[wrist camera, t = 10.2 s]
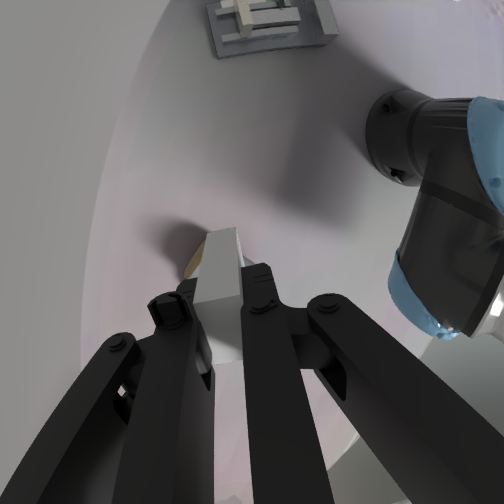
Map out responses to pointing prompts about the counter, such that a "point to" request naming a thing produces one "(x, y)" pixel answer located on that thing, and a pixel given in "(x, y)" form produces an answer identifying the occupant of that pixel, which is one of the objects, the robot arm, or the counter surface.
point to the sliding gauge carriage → (263, 16)
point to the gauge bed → (272, 27)
